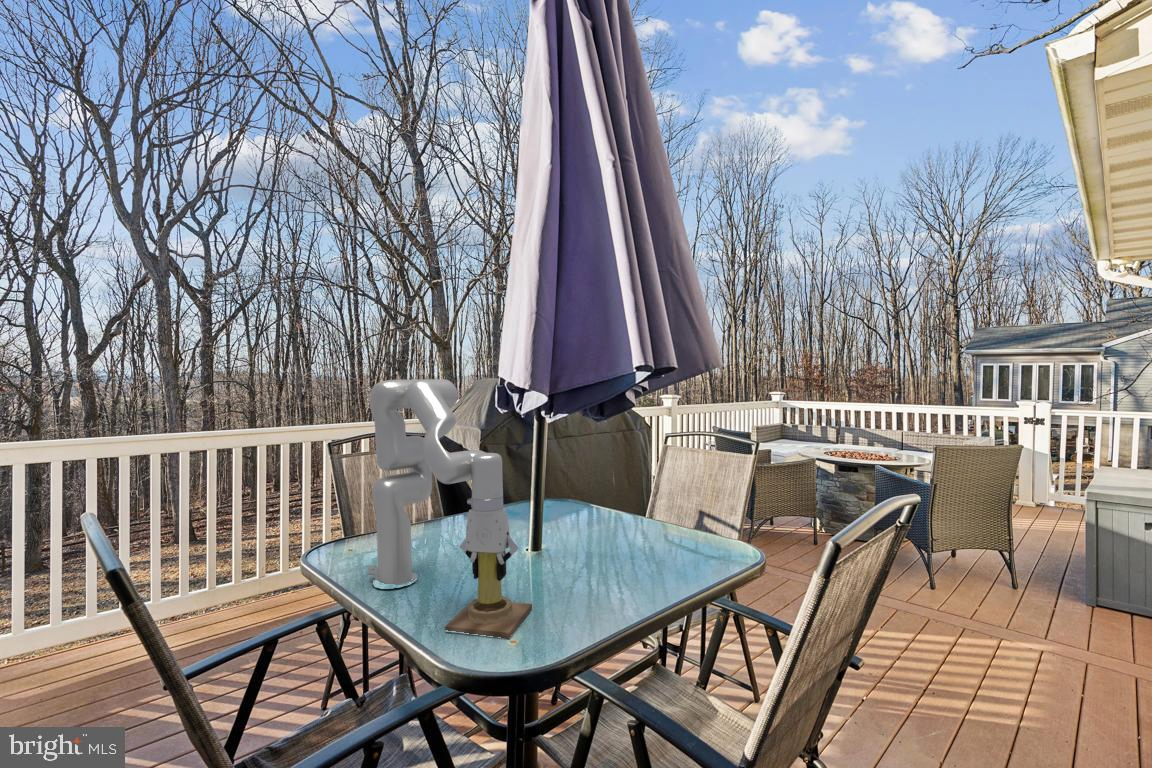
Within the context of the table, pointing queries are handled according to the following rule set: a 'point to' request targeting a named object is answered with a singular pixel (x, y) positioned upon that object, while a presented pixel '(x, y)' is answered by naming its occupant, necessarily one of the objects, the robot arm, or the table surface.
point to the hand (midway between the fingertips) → (489, 577)
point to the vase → (488, 579)
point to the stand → (490, 618)
